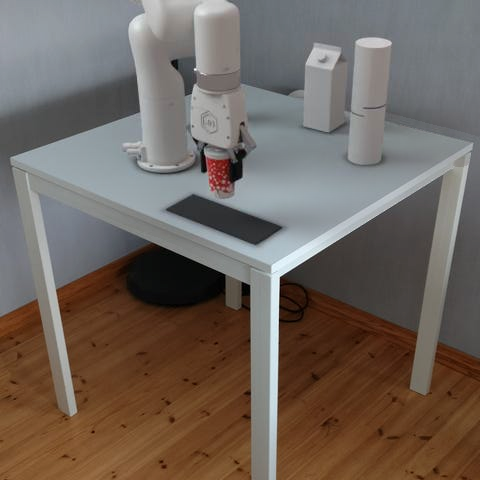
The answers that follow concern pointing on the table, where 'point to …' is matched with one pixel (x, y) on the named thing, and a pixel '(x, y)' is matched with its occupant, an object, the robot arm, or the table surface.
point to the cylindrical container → (369, 100)
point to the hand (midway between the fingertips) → (221, 174)
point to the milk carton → (325, 88)
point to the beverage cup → (219, 172)
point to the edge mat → (224, 219)
